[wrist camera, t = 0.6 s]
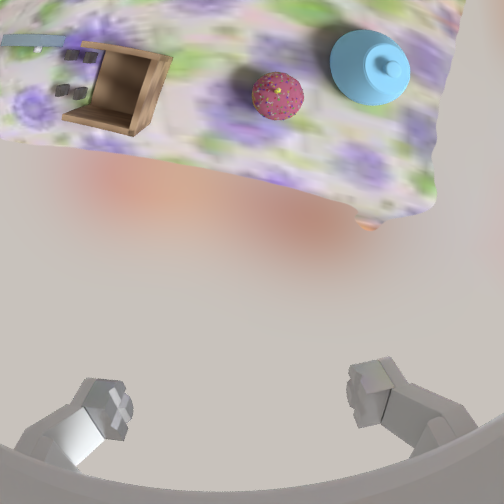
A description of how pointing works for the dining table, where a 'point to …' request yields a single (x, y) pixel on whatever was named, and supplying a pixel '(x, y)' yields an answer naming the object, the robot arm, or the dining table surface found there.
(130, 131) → the cabinet
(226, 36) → the dining table surface
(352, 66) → the sugar bowl
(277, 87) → the cupcake
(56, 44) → the door
